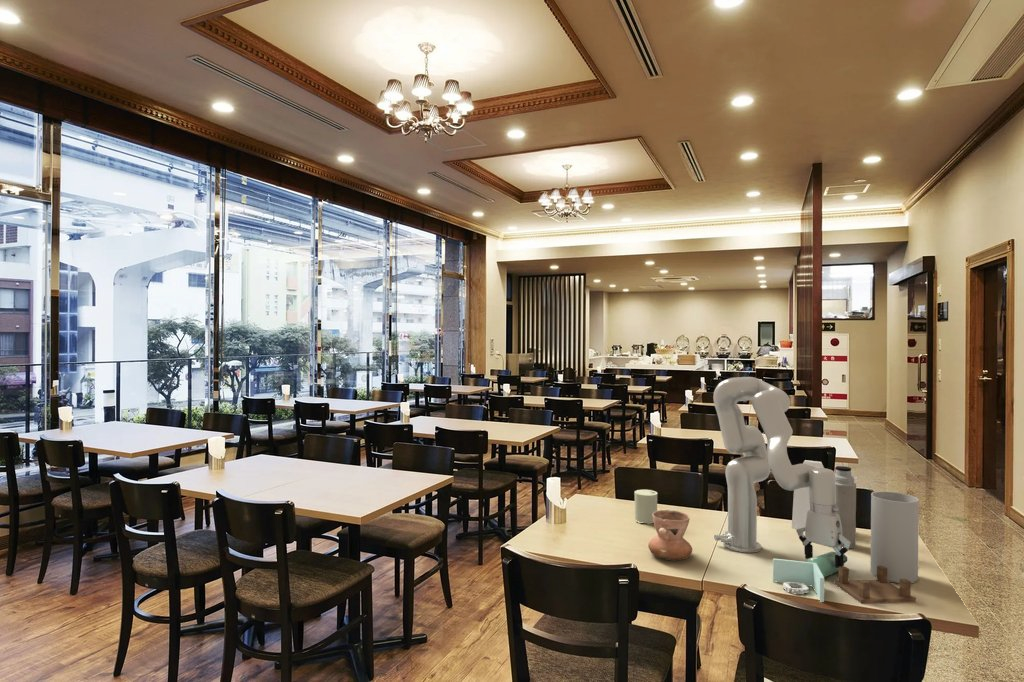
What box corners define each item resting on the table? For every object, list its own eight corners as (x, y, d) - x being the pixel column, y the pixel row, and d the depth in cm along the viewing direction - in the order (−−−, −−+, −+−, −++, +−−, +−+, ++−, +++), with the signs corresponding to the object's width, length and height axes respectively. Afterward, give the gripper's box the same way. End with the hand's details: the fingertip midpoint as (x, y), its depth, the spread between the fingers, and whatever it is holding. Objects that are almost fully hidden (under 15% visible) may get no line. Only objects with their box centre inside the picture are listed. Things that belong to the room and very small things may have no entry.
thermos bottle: (851, 541, 219) (851, 465, 219) (859, 549, 212) (859, 470, 211) (827, 540, 221) (828, 464, 221) (834, 547, 213) (835, 469, 213)
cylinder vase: (874, 581, 185) (875, 499, 184) (867, 566, 196) (867, 489, 196) (922, 587, 180) (923, 504, 180) (911, 571, 192) (912, 493, 192)
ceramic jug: (682, 568, 194) (683, 524, 194) (639, 558, 202) (640, 516, 202) (700, 553, 209) (701, 512, 209) (659, 544, 217) (660, 505, 217)
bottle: (819, 583, 186) (828, 568, 184) (803, 569, 190) (810, 554, 188) (847, 571, 195) (855, 557, 192) (830, 558, 199) (838, 544, 197)
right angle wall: (772, 582, 185) (773, 558, 185) (815, 587, 181) (816, 562, 181) (777, 599, 174) (778, 573, 173) (823, 604, 170) (824, 578, 170)
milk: (791, 528, 235) (792, 461, 235) (800, 521, 244) (800, 457, 243) (825, 534, 227) (826, 466, 227) (833, 527, 236) (833, 461, 235)
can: (659, 524, 239) (660, 494, 239) (636, 524, 239) (636, 494, 239) (654, 517, 248) (654, 488, 248) (632, 517, 249) (632, 488, 248)
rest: (861, 603, 170) (861, 583, 170) (833, 583, 183) (834, 565, 183) (915, 601, 171) (916, 582, 170) (884, 582, 184) (885, 564, 183)
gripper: (856, 512, 185) (858, 568, 185) (803, 500, 200) (804, 552, 200) (843, 516, 181) (844, 573, 181) (790, 504, 196) (791, 557, 196)
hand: (823, 562), depth 191 cm, fingers open, 9 cm apart
